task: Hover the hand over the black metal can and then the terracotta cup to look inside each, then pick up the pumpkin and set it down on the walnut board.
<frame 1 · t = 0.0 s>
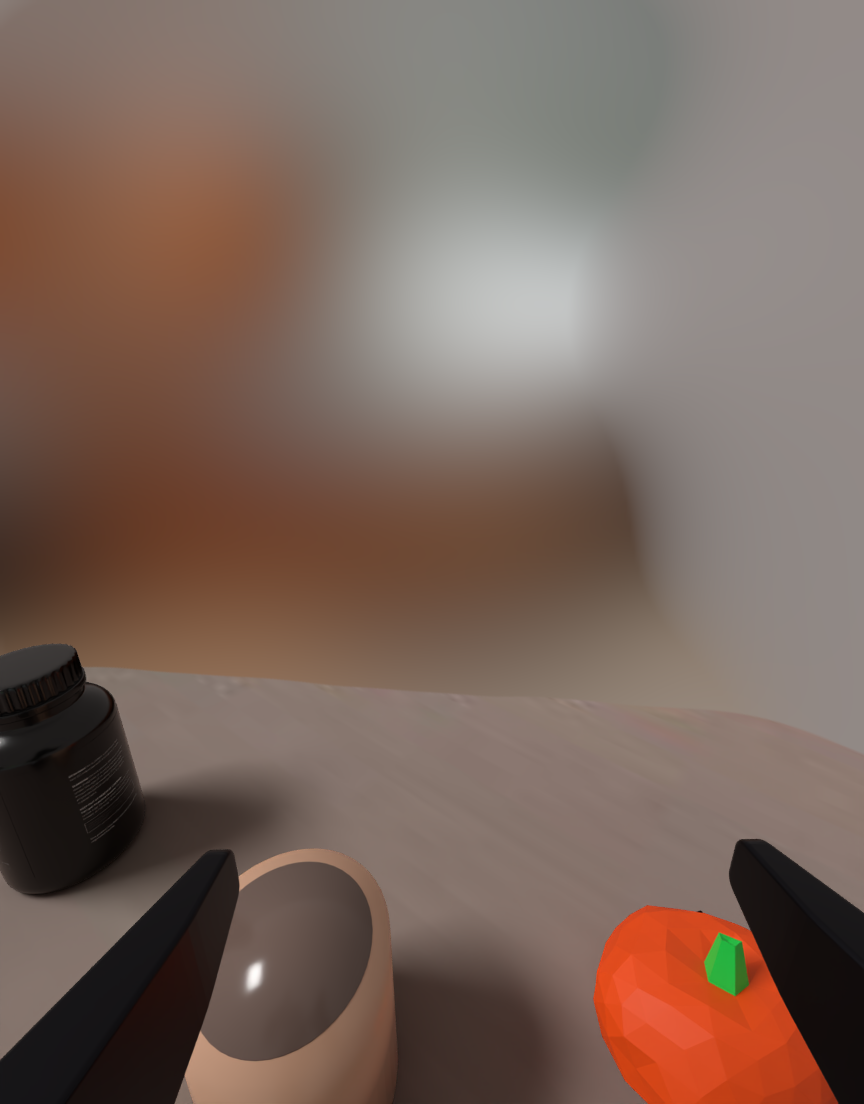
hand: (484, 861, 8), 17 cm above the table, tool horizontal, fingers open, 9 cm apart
terracotta cup: (307, 1068, 18), on the table
supplement bottle: (81, 844, 27), on the table
pumpkin: (693, 1065, 18), on the table
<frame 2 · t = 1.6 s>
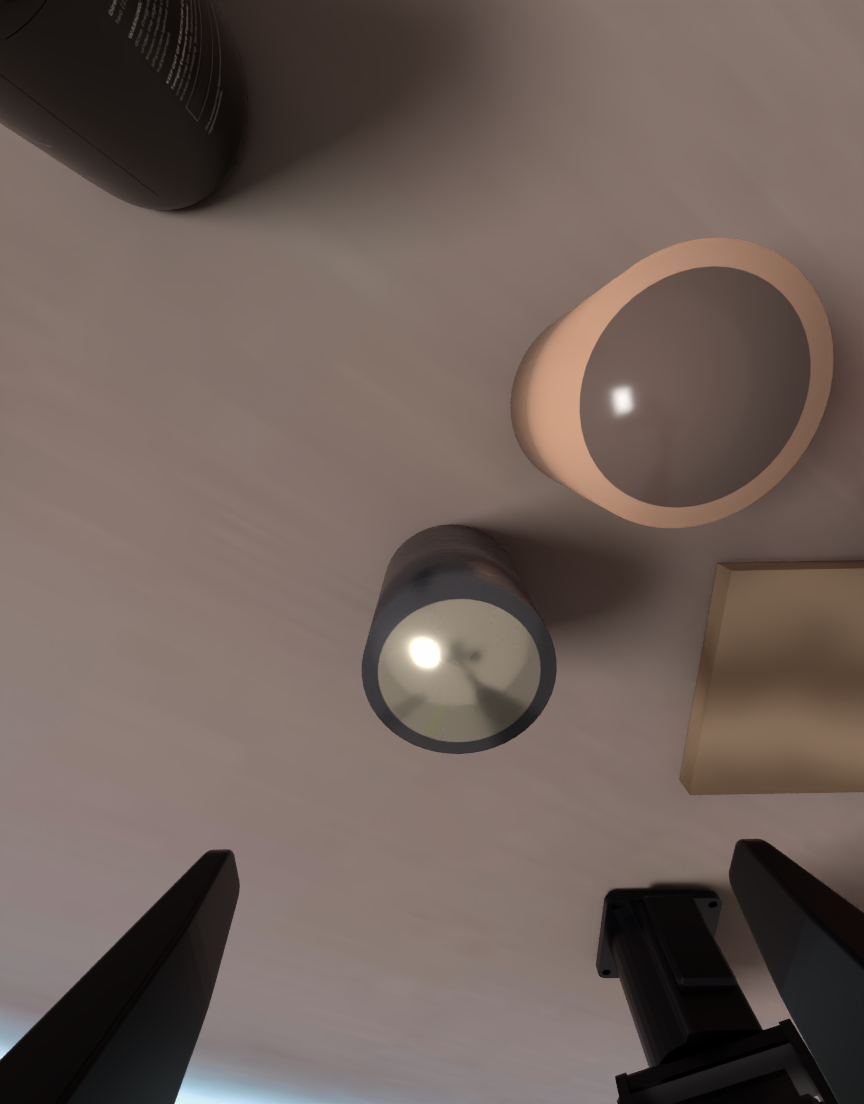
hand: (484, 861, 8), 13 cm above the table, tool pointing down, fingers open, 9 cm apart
terracotta cup: (597, 401, 18), on the table
supplement bottle: (155, 104, 16), on the table
walnut board: (820, 677, 22), on the table
black metal can: (449, 589, 21), on the table
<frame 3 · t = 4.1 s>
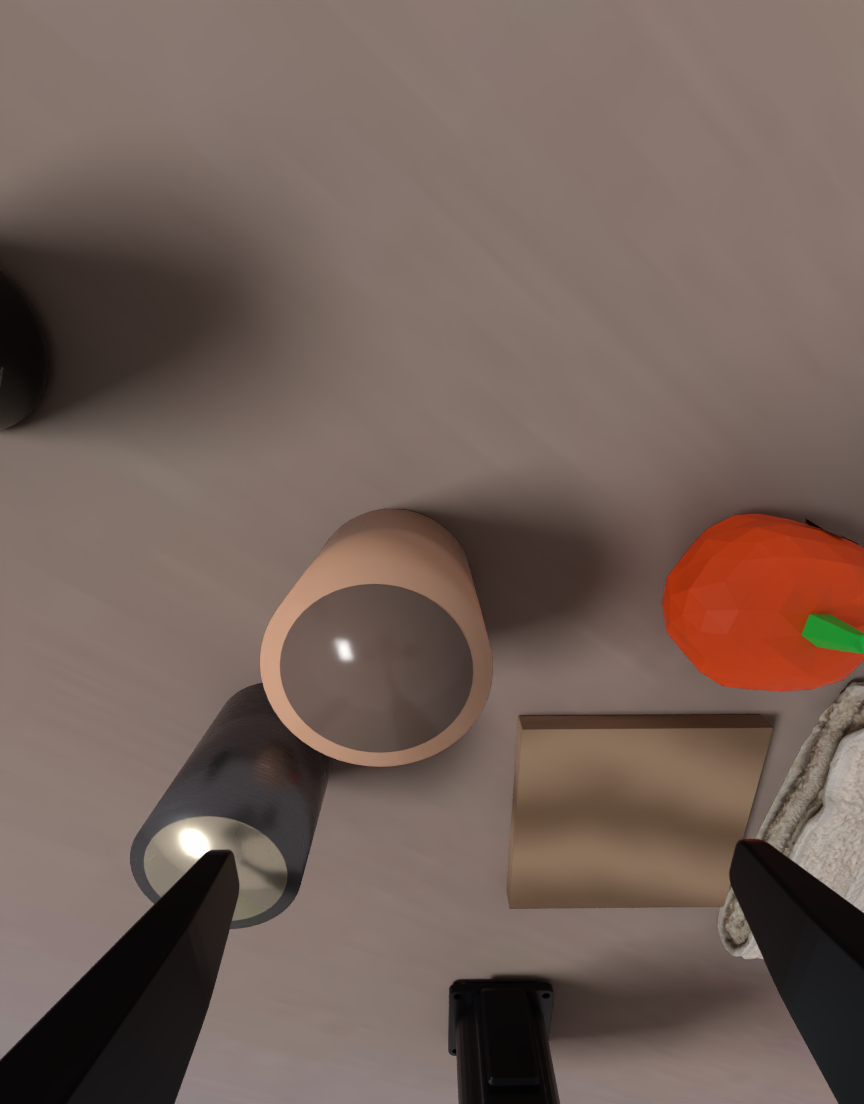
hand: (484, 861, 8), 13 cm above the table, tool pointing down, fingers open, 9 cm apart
terracotta cup: (393, 585, 20), on the table
walnut board: (623, 808, 24), on the table
washcloth: (855, 814, 26), on the table
pumpkin: (722, 581, 21), on the table
black metal can: (278, 734, 23), on the table
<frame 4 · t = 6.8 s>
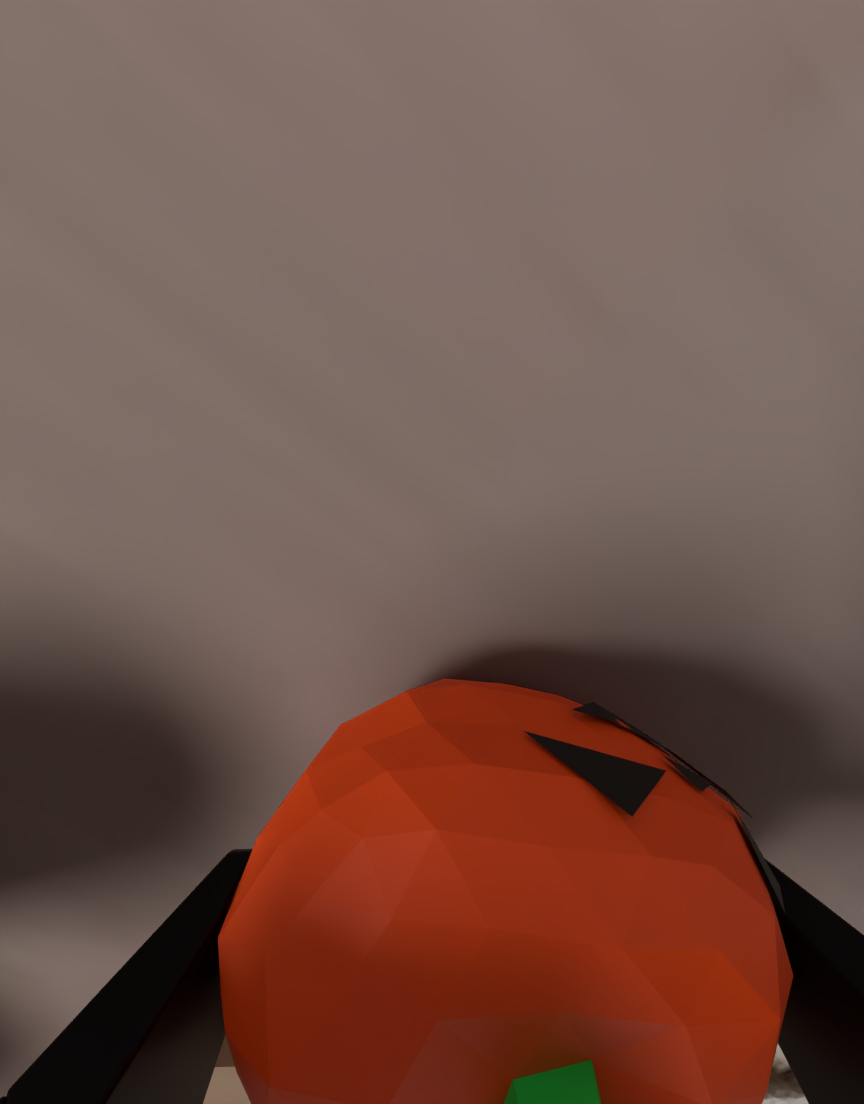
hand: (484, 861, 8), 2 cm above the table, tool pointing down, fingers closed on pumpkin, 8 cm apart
pumpkin: (472, 784, 10), on the table, touching gripper
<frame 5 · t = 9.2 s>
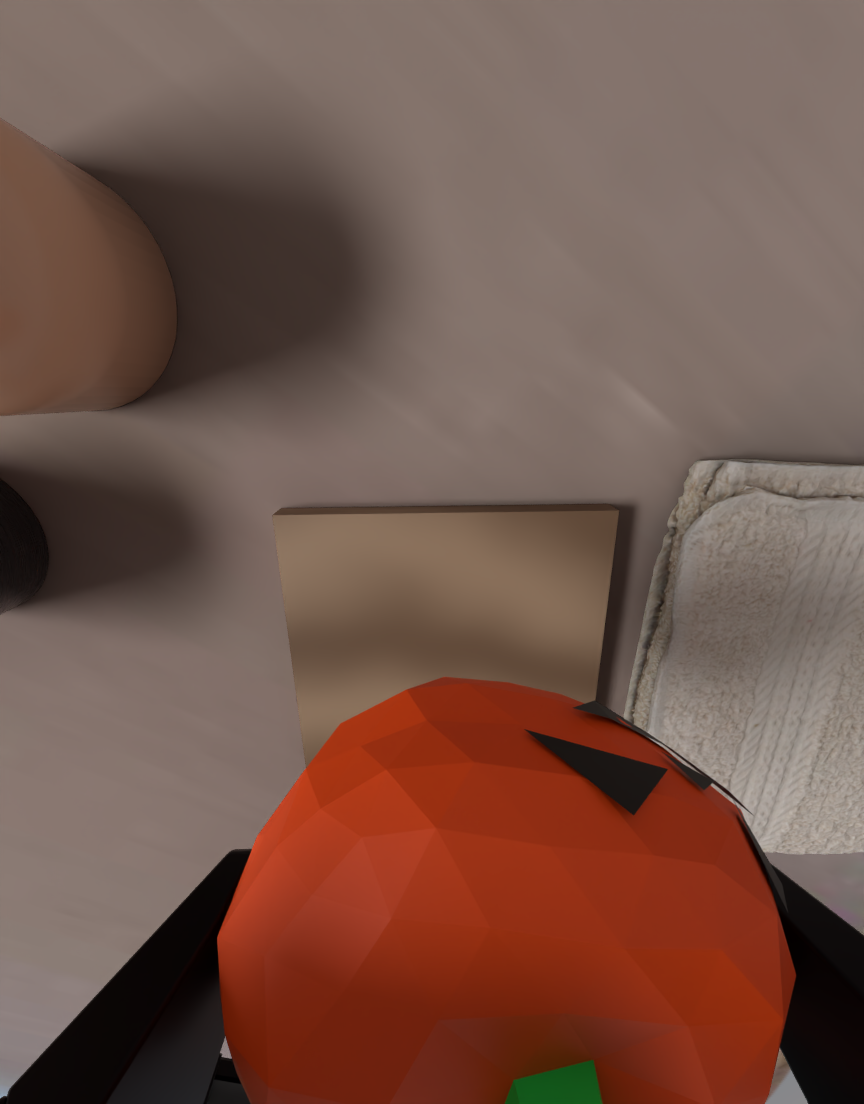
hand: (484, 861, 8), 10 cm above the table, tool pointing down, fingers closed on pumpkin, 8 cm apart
terracotta cup: (64, 295, 14), on the table
walnut board: (445, 648, 19), on the table
washcloth: (758, 661, 20), on the table
pumpkin: (473, 783, 10), point 9 cm above the table, touching gripper
when the fingers open (4 cm above the table, at t = 11.6 s): pumpkin drops 2 cm, resting on walnut board.
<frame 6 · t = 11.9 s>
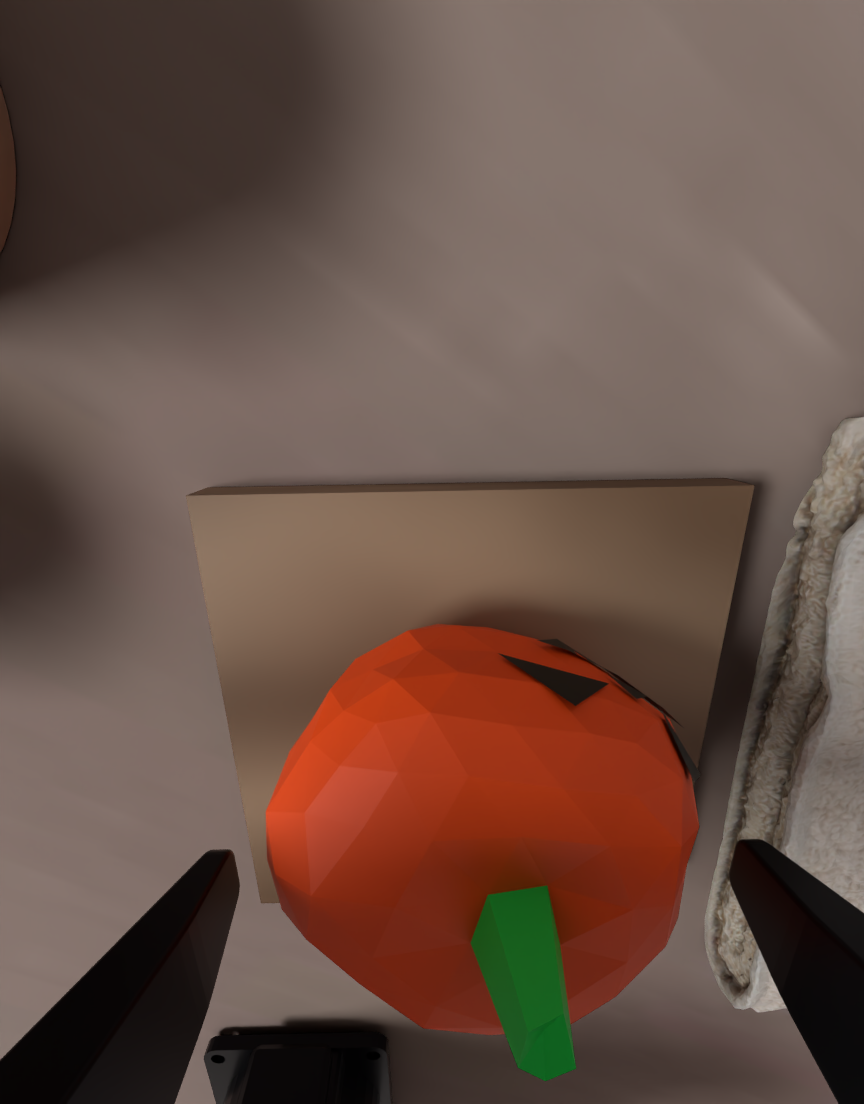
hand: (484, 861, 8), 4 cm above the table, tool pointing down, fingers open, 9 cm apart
walnut board: (465, 702, 12), on the table
pumpkin: (464, 722, 12), point 1 cm above the table, touching walnut board
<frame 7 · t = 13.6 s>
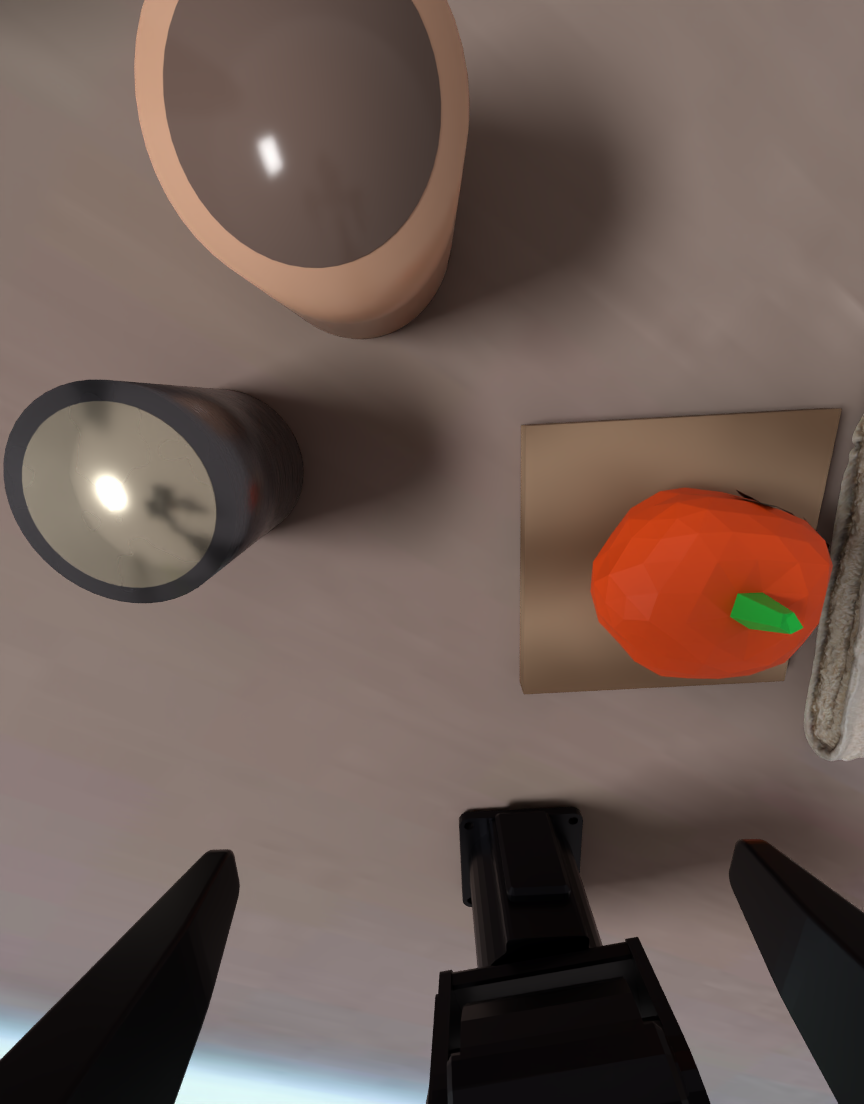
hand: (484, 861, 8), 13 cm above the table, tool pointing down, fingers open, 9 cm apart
terracotta cup: (354, 231, 16), on the table
walnut board: (655, 557, 20), on the table
pumpkin: (663, 563, 19), point 1 cm above the table, touching walnut board
black metal can: (230, 466, 19), on the table
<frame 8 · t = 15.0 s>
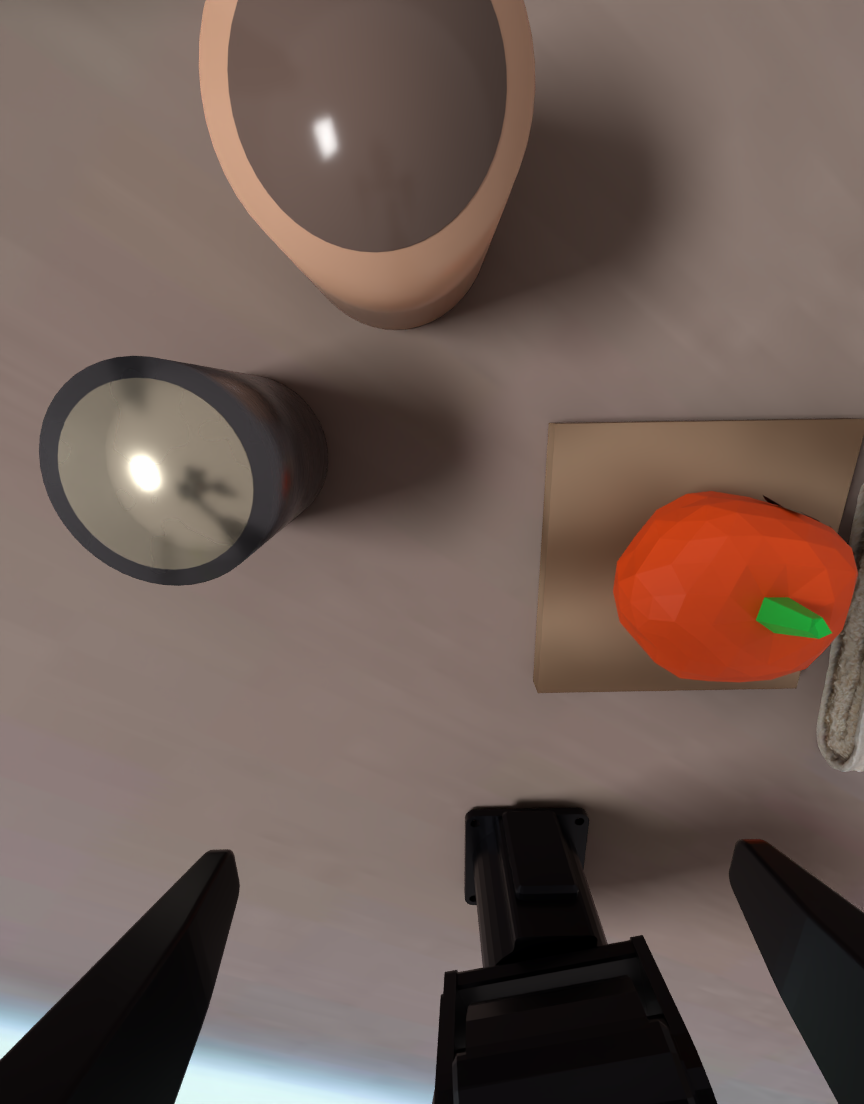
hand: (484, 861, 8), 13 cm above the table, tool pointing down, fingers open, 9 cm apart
terracotta cup: (392, 221, 16), on the table
walnut board: (675, 561, 20), on the table
pumpkin: (683, 566, 19), point 1 cm above the table, touching walnut board
black metal can: (254, 453, 19), on the table
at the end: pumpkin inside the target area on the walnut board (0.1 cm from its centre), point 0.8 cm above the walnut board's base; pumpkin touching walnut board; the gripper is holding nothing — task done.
